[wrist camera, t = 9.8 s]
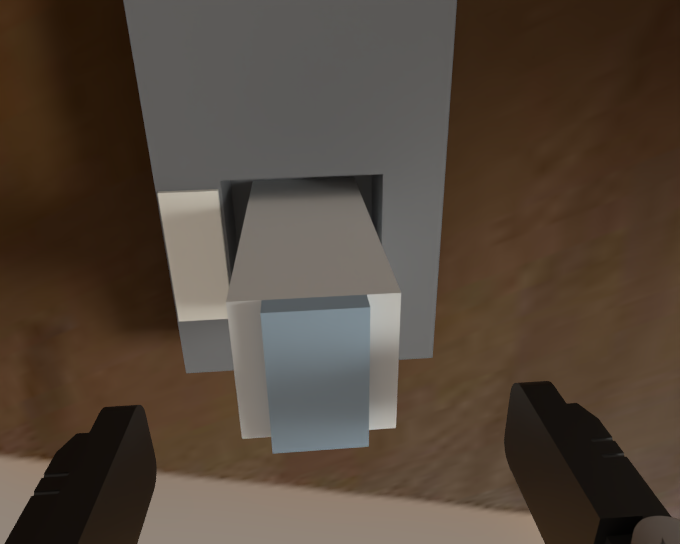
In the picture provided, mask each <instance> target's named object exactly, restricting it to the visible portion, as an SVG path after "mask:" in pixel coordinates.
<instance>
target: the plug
mask: <svg viewBox="0 0 680 544" xmlns="http://www.w3.org/2000/svg"><path fill="white" fill-rule="evenodd" d="M226 307H227V315H228V324H229V332H230V341H231V349H232V357H233V366H234V374H235V383H236V391H237V399H238V408H239V416H240V425H241V433H242V439H246V438H260V437H271V439H272V450H273V453H286V452H300V451H314V450H328V449H341V448H355V447H369V430H373V429H387V428H396V412H397V386H398V361H399V335H400V310H401V291H400V289H399V286H398V284H397V281H396V279H395V277H394V274H393V272H392V269H391V267H390V264H389V262H388V259H387V257H386V255H385V252H384V250H383V247H382V245H381V242H380V240H379V237H378V235H377V233H376V230H375V228H374V225H373V223H372V220H371V218H370V215H369V213H368V211H367V208H366V206H365V203H364V201H363V198H362V196H361V193H360V191H359V189H358V186H357V184H356V181H355V179H354V177H353V178H325V179H298V180H271V181H253V183H252V187H251V192H250V196H249V201H248V205H247V210H246V214H245V219H244V223H243V228H242V232H241V237H240V241H239V246H238V250H237V254H236V259H235V263H234V268H233V272H232V277H231V281H230V286H229V290H228V295H227V299H226Z"/></svg>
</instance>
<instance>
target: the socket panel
mask: <svg viewBox="0 0 680 544" xmlns="http://www.w3.org/2000/svg"><path fill="white" fill-rule="evenodd" d="M123 1H124V7H125V13H126V19H127V25H128V31H129V37H130V43H131V49H132V55H133V60H134V66H135V72H136V78H137V84H138V90H139V96H140V102H141V108H142V114H143V120H144V126H145V132H146V137H147V143H148V149H149V155H150V161H151V167H152V173H153V179H154V185H155V191H156V197H157V203H158V209H159V215H160V220H161V226H162V232H163V238H164V244H165V250H166V256H167V262H168V268H169V274H170V280H171V286H172V292H173V297H174V303H175V309H176V315H177V321H178V327H179V333H180V339H181V345H182V351H183V357H184V363H185V369H186V373H198V372H213V371H229V370H234V366H233V357H232V349H231V341H230V332H229V324H228V315H227V307H226V299H227V295H228V290H229V286H230V281H231V277H232V272H233V268H234V263H235V259H236V254H237V250H238V246H239V241H240V237H241V232H242V228H243V223H244V219H245V214H246V210H247V205H248V201H249V196H250V192H251V187H252V183H253V181H271V180H298V179H325V178H353V177H354V179H355V181H356V184H357V186H358V189H359V191H360V193H361V196H362V198H363V201H364V203H365V206H366V208H367V211H368V213H369V215H370V218H371V220H372V223H373V225H374V228H375V230H376V233H377V235H378V237H379V240H380V242H381V245H382V247H383V250H384V252H385V255H386V257H387V259H388V262H389V264H390V267H391V269H392V272H393V274H394V277H395V279H396V281H397V284H398V286H399V289H400V291H401V310H400V335H399V360H402V359H418V358H432V356H433V342H434V327H435V313H436V298H437V284H438V269H439V255H440V240H441V225H442V211H443V196H444V182H445V167H446V153H447V138H448V124H449V109H450V94H451V80H452V65H453V51H454V36H455V22H456V7H457V0H123Z"/></svg>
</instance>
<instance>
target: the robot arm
mask: <svg viewBox="0 0 680 544" xmlns="http://www.w3.org/2000/svg"><path fill="white" fill-rule="evenodd" d="M504 445H505V453H506V458H507V461H508V464H509V467H510V469H511V471H512V473H513V476H514V478H515V480H516V482H517V484H518V486H519V488H520V491H521V493H522V495H523V497H524V499H525V501H526V503H527V506H528V508H529V510H530V512H531V514H532V516H533V519H534V521H535V522H536V525H537V527H538V529H539V531H540V534H541V536H542V538H543V540H544V542H545V544H680V519H677V518H672V517H671V516H670V514H669V513H668V512H667V510H666V509H665V508H664V506H663V505H662V504H661V502H660V501H659V500H658V498H657V497H656V496H655V494H654V493H653V491H652V490H651V489H650V487H649V486H648V485H647V483H646V482H645V481H644V479H643V478H642V477H641V475H640V474H639V473H638V471H637V470H636V469H635V467H634V466H633V465H632V463H631V462H630V461H629V459H628V458H627V457H624V453H623V451H622V450H621V448H620V447H619V446H618V444H617V443H616V442H615V441H613V440H612V436H611V435H610V434H609V432H608V431H607V430H606V428H605V427H604V426H603V424H602V423H601V422H600V420H599V419H598V418H597V417H595V416H594V415H593V414H591V413H590V412H588V411H587V410H586V409H584V408H583V407H582V406H580V405H579V404H577V403H571V404H566V402H565V401H564V399H563V398H562V397H561V395H560V394H559V392H558V391H557V389H556V388H555V386H554V385H553V384H552V383H551V382H549V381H541V382H524V383H514V384H513V386H512V388H511V393H510V400H509V407H508V414H507V422H506V429H505V437H504ZM155 482H156V458H155V454H154V449H153V445H152V440H151V436H150V432H149V427H148V423H147V418H146V414H145V410H144V408H143V407H142V406H141V405H131V406H115V407H104V408H103V409H102V410H101V411H100V413H99V415H98V417H97V419H96V421H95V423H94V425H93V427H92V429H91V431H90V433H79V434H76V435H75V436H74V437H72V438H71V439H70V440H69V441H68V442H67V443H66V444H65V445H64V446H63V447H62V448H61V449H59V450H58V451H57V452H56V454H55V455H54V457H53V459H52V461H51V462H50V464H49V466H48V468H47V470H46V471H45V473H44V478H42V479H41V480H40V482H39V484H38V485H37V487H36V489H35V491H34V496H31V498H30V500H29V501H28V503H27V505H26V507H25V508H24V510H23V512H22V514H21V515H20V517H19V519H18V521H17V523H16V524H15V526H14V528H13V530H12V531H11V533H10V535H9V537H8V539H7V540H6V542H5V544H137V543H138V539H139V536H140V532H141V530H142V527H143V523H144V520H145V517H146V514H147V510H148V507H149V504H150V501H151V498H152V495H153V491H154V488H155Z"/></svg>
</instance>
